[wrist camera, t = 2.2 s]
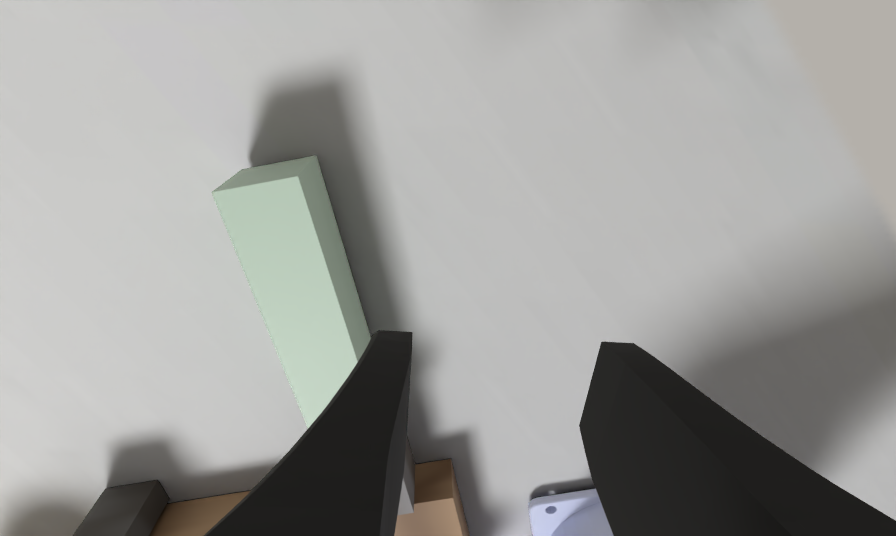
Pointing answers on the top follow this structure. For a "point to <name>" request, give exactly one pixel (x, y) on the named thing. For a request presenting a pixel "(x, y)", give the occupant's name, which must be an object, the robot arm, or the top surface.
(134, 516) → the stool seat
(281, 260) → the pale green bar
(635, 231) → the top surface
